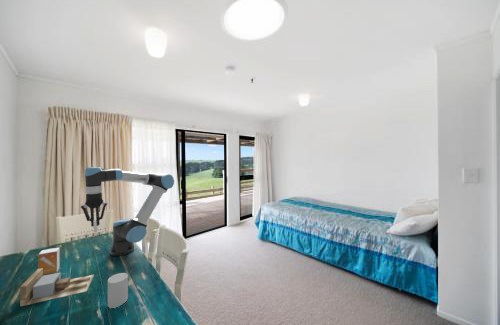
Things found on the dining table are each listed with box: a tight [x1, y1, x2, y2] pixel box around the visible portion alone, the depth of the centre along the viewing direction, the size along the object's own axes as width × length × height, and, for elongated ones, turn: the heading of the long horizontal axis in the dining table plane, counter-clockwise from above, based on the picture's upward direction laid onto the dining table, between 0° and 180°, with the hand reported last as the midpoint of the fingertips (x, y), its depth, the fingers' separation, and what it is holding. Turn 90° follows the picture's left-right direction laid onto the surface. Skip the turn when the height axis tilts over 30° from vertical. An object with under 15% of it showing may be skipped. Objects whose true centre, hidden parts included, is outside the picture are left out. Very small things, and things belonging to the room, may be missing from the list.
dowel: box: [55, 277, 71, 292], centre depth 102 cm, size 10×4×4 cm, turn 117°
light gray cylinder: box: [107, 272, 129, 309], centre depth 96 cm, size 8×8×12 cm
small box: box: [37, 247, 61, 276], centre depth 120 cm, size 8×6×13 cm
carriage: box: [33, 272, 62, 299], centre depth 101 cm, size 7×10×6 cm
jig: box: [19, 268, 95, 307], centre depth 103 cm, size 24×16×10 cm, turn 117°
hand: (95, 231), depth 121 cm, fingers closed
